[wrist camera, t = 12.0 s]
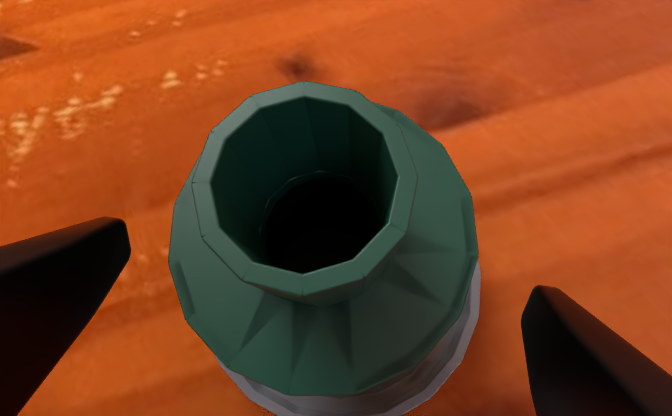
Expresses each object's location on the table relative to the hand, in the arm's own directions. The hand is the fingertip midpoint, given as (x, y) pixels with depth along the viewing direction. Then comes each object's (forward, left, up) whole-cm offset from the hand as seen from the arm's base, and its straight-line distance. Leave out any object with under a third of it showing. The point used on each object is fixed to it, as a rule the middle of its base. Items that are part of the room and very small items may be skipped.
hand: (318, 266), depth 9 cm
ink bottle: (+1, 0, -11) cm, 11 cm away
